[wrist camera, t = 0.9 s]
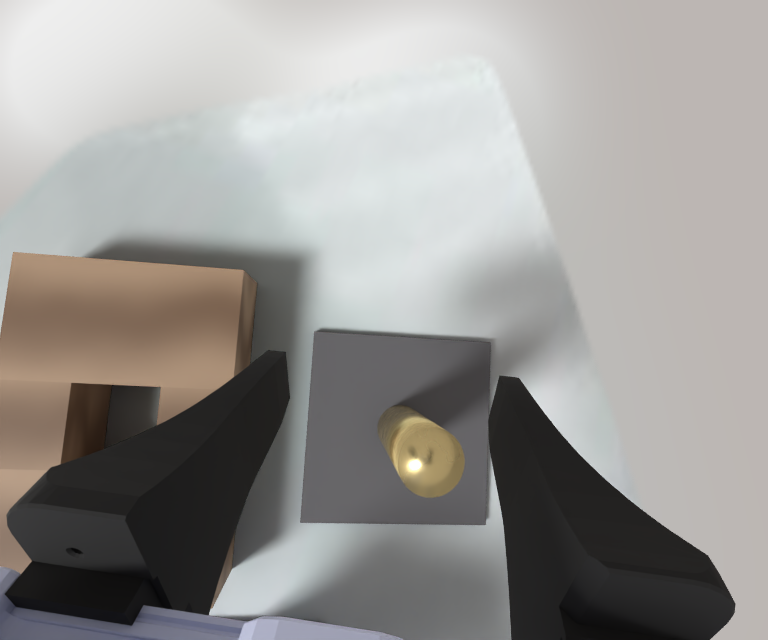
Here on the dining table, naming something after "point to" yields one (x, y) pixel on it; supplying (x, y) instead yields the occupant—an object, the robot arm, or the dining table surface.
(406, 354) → the rubber mat
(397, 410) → the brass pin
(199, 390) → the walnut block
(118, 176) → the dining table surface
